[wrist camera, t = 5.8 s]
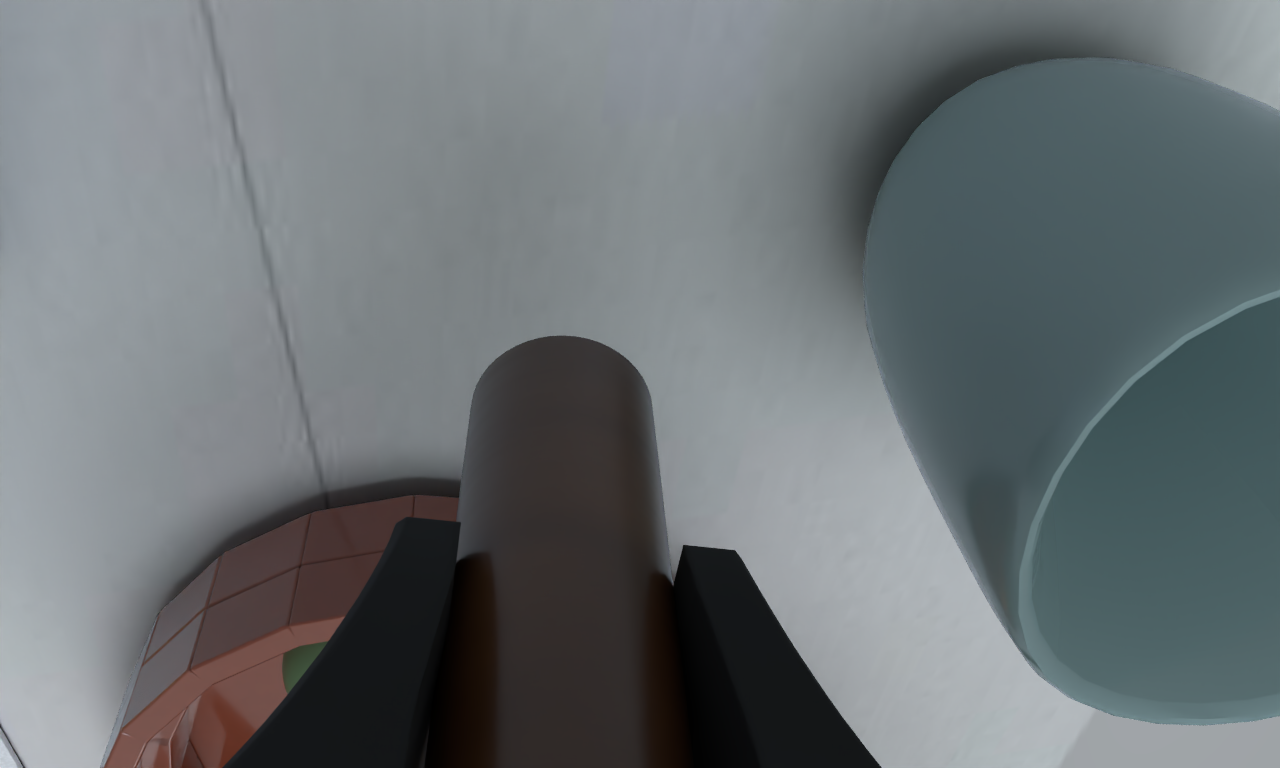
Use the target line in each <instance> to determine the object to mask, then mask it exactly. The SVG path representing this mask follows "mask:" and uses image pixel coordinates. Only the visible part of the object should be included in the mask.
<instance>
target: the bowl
mask: <svg viewBox="0 0 1280 768" xmlns="http://www.w3.org/2000/svg"><path fill="white" fill-rule="evenodd" d="M458 502H459V498H456V497H443V496H430V495H418V494H417V495H415V496H414V495H408V496H402V497H396V498H390V499H384V500H378V501H372V502H366V503H361V504H355V505H349V506H343V507H337V508H331V509H325V510H319V511H314V512H312V513H308V514H306V515H304V516H301V517H299V518H297V519H295V520H293V521H291V522H288V523H286V524H284V525H282V526H280V527H278V528H275V529H273V530H271V531H269V532H267V533H265V534H262V535H260V536H258V537H256V538H254V539H252V540H249V541H247V542H245V543H243V544H241V545H239V546H236V547H234V548H232V549H230V550H228V551H226V552H224V553H223V555H221V556H219V557H218V558H217V559H216V560H215V561H214V562H213V563H212V564H210V565H209V566H208V567H207V568H206V569H205V570H204V571H203V572H202V573H201V574H200V575H199V576H198V577H197V578H195V579H194V580H193V581H192V582H191V583H190V584H189V585H188V586H187V587H186V588H185V589H184V590H183V591H182V592H180V593H179V594H178V595H177V596H176V597H175V598H174V599H173V600H172V601H171V602H170V603H169V604H168V605H167V606H166V607H164V608H163V609H162V610H161V612H160V613H159V614H158V616H157V618H156V620H155V622H154V625H153V627H152V629H151V631H150V634H149V636H148V638H147V640H146V643H145V645H144V647H143V650H142V652H141V654H140V656H139V659H138V661H137V663H136V665H135V668H134V670H133V672H132V674H131V677H130V680H129V683H128V686H127V689H126V692H125V695H124V697H123V700H122V703H121V706H120V709H119V712H118V715H117V718H116V721H115V724H114V727H113V730H112V733H111V736H110V739H109V742H108V745H107V747H106V750H105V753H104V756H103V759H102V762H101V765H100V768H222V767H223V766H224V765H225V764H226V763H227V762H228V761H229V760H230V759H231V758H232V757H233V756H234V755H235V754H236V753H237V751H238V750H239V749H240V748H241V747H242V746H243V745H244V744H245V743H246V742H247V741H248V740H249V739H250V738H251V736H252V735H253V734H254V733H255V732H256V731H257V730H258V729H259V727H260V726H261V725H262V724H263V723H264V722H265V721H266V720H267V718H268V717H269V716H270V715H271V714H272V713H273V711H274V710H275V709H276V708H277V707H278V705H279V704H280V703H281V702H282V701H283V700H284V698H285V697H286V696H287V695H288V694H287V692H286V689H285V685H284V681H283V673H282V661H283V654H284V653H286V652H288V651H290V650H293V649H295V648H297V647H299V646H304V645H310V644H316V643H322V642H327V641H329V640H330V638H331V637H332V635H333V634H334V632H335V631H336V629H337V628H338V626H339V625H340V623H341V622H342V620H343V619H344V617H345V616H346V614H347V613H348V611H349V610H350V608H351V607H352V605H353V604H354V602H355V601H356V599H357V598H358V596H359V595H360V593H361V591H362V590H363V588H364V586H365V585H366V583H367V581H368V580H369V578H370V576H371V575H372V573H373V571H374V569H375V567H376V566H377V564H378V562H379V560H380V558H381V556H382V554H383V552H384V550H385V548H386V546H387V544H388V542H389V540H390V537H391V535H392V532H393V529H394V527H395V524H396V523H397V522H399V521H401V520H402V519H404V518H405V517H415V518H425V519H435V520H444V521H454V522H456V517H457V510H458ZM673 585H674V583H673Z"/></svg>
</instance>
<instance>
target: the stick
mask: <svg viewBox="0 0 1280 768" xmlns="http://www.w3.org/2000/svg"><path fill="white" fill-rule="evenodd" d="M456 522H461V527H460V535H459V544H458V552H457V560H456V568H455V576H454V585H453V593H452V601H451V609H450V617H449V625H448V630H447V634H446V639H445V643H444V648H443V653H442V658H441V662H440V667H439V672H438V677H437V681H436V686H435V692H434V698H433V704H432V711H431V719H430V726H429V734H428V742H427V750H426V757H425V765H424V768H694V761H693V752H692V744H691V735H690V726H689V718H688V709H687V701H686V692H685V683H684V675H683V666H682V658H681V650H680V641H679V633H678V624H677V615H676V607H675V598H674V589H673V580H672V571H671V563H670V554H669V545H668V537H667V528H666V520H665V511H664V502H663V494H662V485H661V476H660V468H659V459H658V451H657V442H656V433H655V425H654V416H653V407H652V401H651V396H650V393H649V390H648V387H647V385H646V383H645V381H644V379H643V377H642V376H641V374H640V373H639V372H638V370H637V369H636V368H635V367H634V366H633V365H632V363H631V362H630V361H629V360H627V359H626V358H625V357H624V356H622V355H621V354H620V353H618V352H617V351H615V350H613V349H612V348H610V347H608V346H606V345H604V344H601V343H599V342H596V341H593V340H590V339H586V338H581V337H576V336H548V337H542V338H537V339H534V340H530V341H527V342H524V343H522V344H519V345H517V346H515V347H513V348H512V349H510V350H508V351H506V352H505V353H504V354H502V355H501V356H500V357H498V358H497V359H496V360H495V361H494V362H493V363H492V364H491V365H490V366H489V367H488V368H487V369H486V371H485V372H484V373H483V374H482V376H481V378H480V380H479V381H478V383H477V385H476V388H475V390H474V393H473V397H472V402H471V409H470V417H469V424H468V432H467V440H466V448H465V455H464V463H463V471H462V479H461V486H460V494H459V502H458V510H457V517H456Z"/></svg>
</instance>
